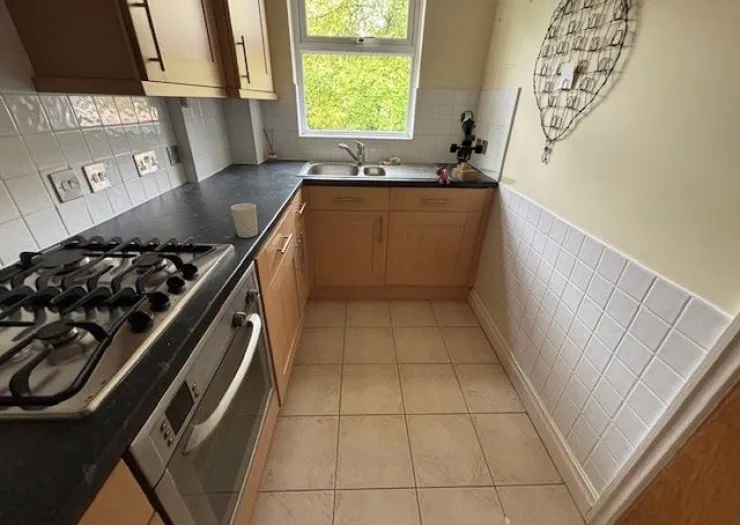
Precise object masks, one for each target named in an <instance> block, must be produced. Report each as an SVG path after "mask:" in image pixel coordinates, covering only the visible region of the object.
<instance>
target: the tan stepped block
mask: <svg viewBox="0 0 740 525" xmlns="http://www.w3.org/2000/svg"><path fill="white" fill-rule="evenodd" d="M456 167H457V168H455V167H452V170H451V178H454V179H456V180H459V181H462V182H467V181H478V175H479V170H478V169H477V170H476V169H473V168H472V165H469V164H468V166H462V165H457V166H456Z"/></svg>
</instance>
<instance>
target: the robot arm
mask: <svg viewBox="0 0 740 525" xmlns="http://www.w3.org/2000/svg"><path fill="white" fill-rule="evenodd" d="M460 118H461V119H459V121H460V126H461V130H462V133H461V143H460V144H459V145H458V143H450V146H449V153H450V154H455V153H456V156H455V157H456V160H457V165H461V163H468V161H470V160H471V156H472V154H473V151H474V154H476V155H481V154H482V153H483V149H484V145H483V144H480V143H477V144H475V146H474V145H473V142H475V141H476V136H477V135H476V134H473V131H474V129H475V128H476V127H477V126H476V122H475V120H474V118H475V113H474V112H473V110H471V109H466V110H464V111H463V112H462V113H460ZM454 168H457V166H455V167H454Z"/></svg>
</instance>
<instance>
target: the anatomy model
mask: <svg viewBox="0 0 740 525" xmlns="http://www.w3.org/2000/svg"><path fill="white" fill-rule="evenodd" d="M438 163H439V162H438V161H436V162H434V164H435V165H434V166H435V167H434V169H436V168H437V166H438V168H437V169H436V170H434V172H435V174H436V176H437V177H438V178H437V179H436V181H439V185H443V184H444V180H445V181H446V185H450V184H451V180H450V179H449V176H450V174H449V171H450V168H451V165H453V164H454V162H453V161H451V163H450V164H449V165H448V166H447V167H446V166H445V165H442V166H441V165H440V164H438Z"/></svg>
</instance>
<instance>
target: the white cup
mask: <svg viewBox="0 0 740 525" xmlns="http://www.w3.org/2000/svg"><path fill="white" fill-rule="evenodd" d="M230 211H231V215H232V220H233V224H234V227H235V231H236V234H237V237H239V238H242V239H247V238H252V237H256V236H257V235H258V233H259V229H258V214H257V205H256V204H254V203H251V202H244V203H237V204H234V205H232V206H230Z"/></svg>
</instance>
